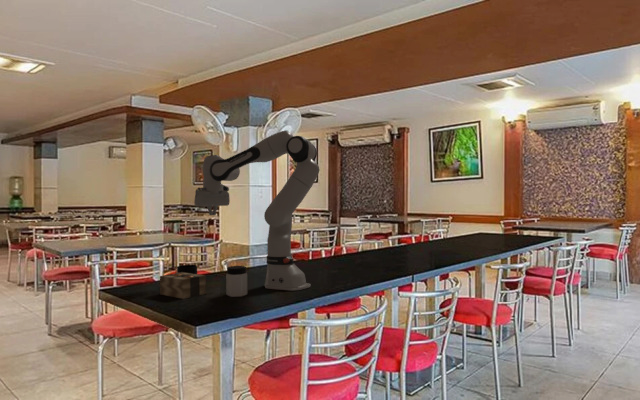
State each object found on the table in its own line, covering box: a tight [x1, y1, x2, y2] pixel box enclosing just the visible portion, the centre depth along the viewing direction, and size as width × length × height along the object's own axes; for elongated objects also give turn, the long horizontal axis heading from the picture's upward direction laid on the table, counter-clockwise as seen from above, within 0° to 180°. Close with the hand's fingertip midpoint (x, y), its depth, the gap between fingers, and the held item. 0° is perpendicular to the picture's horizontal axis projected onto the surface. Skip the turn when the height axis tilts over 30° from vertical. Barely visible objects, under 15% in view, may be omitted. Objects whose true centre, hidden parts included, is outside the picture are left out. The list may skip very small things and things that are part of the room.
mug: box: [176, 264, 198, 274], centre depth 224 cm, size 9×12×9 cm
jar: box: [225, 265, 248, 298], centre depth 202 cm, size 9×8×12 cm
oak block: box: [159, 272, 207, 300], centre depth 204 cm, size 16×12×8 cm
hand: (212, 215), depth 233 cm, fingers closed
